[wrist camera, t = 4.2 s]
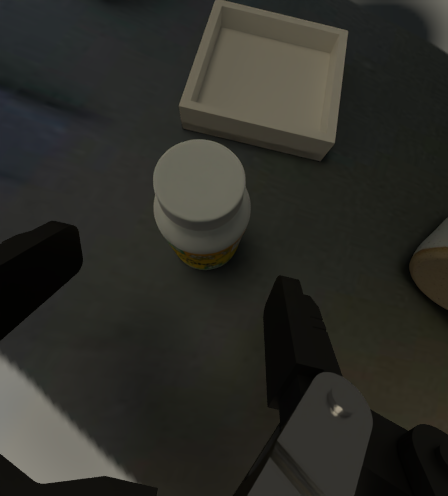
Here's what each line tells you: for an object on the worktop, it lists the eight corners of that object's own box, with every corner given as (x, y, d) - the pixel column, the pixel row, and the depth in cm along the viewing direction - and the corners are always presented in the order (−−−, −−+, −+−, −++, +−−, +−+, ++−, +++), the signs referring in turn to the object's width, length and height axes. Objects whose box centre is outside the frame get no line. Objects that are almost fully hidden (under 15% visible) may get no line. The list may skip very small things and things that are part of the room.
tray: (182, 128, 21) (178, 105, 19) (215, 28, 24) (215, -2, 22) (320, 161, 21) (334, 143, 19) (334, 57, 25) (348, 30, 22)
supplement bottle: (246, 225, 19) (281, 154, 10) (221, 282, 18) (233, 260, 9) (190, 200, 19) (173, 107, 10) (161, 254, 18) (111, 204, 9)
